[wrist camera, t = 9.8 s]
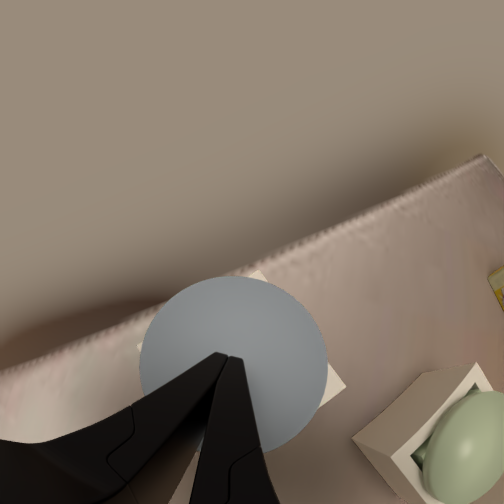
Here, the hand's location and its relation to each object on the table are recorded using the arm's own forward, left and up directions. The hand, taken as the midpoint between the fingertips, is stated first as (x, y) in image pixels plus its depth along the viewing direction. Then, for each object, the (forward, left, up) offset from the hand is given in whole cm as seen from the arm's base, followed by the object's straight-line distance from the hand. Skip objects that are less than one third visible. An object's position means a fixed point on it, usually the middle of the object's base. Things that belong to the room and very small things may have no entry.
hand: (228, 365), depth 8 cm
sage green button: (+7, -12, -7) cm, 15 cm away
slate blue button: (0, 0, -5) cm, 5 cm away
